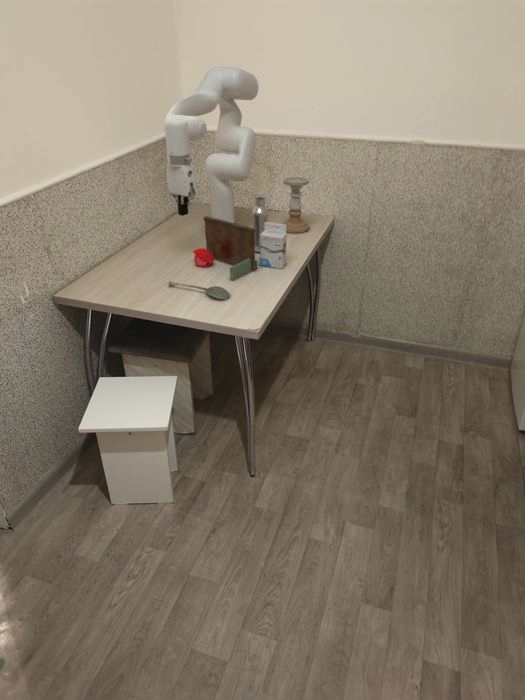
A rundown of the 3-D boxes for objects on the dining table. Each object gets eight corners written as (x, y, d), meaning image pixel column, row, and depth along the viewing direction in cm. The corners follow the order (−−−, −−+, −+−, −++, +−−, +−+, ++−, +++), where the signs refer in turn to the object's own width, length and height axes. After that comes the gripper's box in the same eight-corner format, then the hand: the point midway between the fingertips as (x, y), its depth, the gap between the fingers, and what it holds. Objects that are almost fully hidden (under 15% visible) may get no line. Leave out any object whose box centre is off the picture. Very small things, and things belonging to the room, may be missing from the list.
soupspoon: (222, 304, 159) (232, 297, 164) (223, 294, 157) (233, 287, 163) (164, 289, 167) (175, 282, 172) (163, 279, 165) (175, 273, 170)
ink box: (259, 266, 183) (259, 226, 175) (263, 260, 187) (263, 221, 179) (282, 269, 181) (282, 228, 173) (286, 263, 185) (287, 224, 177)
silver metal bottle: (271, 249, 197) (271, 197, 186) (264, 255, 192) (264, 202, 181) (256, 246, 199) (255, 195, 188) (248, 252, 194) (247, 199, 183)
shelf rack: (186, 265, 184) (183, 224, 176) (211, 254, 192) (209, 214, 184) (235, 281, 172) (233, 238, 164) (258, 269, 181) (258, 227, 173)
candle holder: (314, 227, 218) (316, 178, 208) (300, 235, 210) (302, 185, 199) (289, 222, 224) (290, 175, 213) (274, 230, 215) (275, 181, 204)
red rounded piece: (217, 262, 185) (216, 247, 182) (210, 269, 181) (209, 253, 177) (196, 260, 188) (195, 244, 184) (190, 266, 183) (188, 250, 180)
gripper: (203, 160, 168) (206, 216, 177) (171, 155, 176) (176, 208, 185) (187, 164, 163) (191, 221, 172) (155, 158, 171) (160, 213, 180)
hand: (183, 214), depth 179 cm, fingers closed
